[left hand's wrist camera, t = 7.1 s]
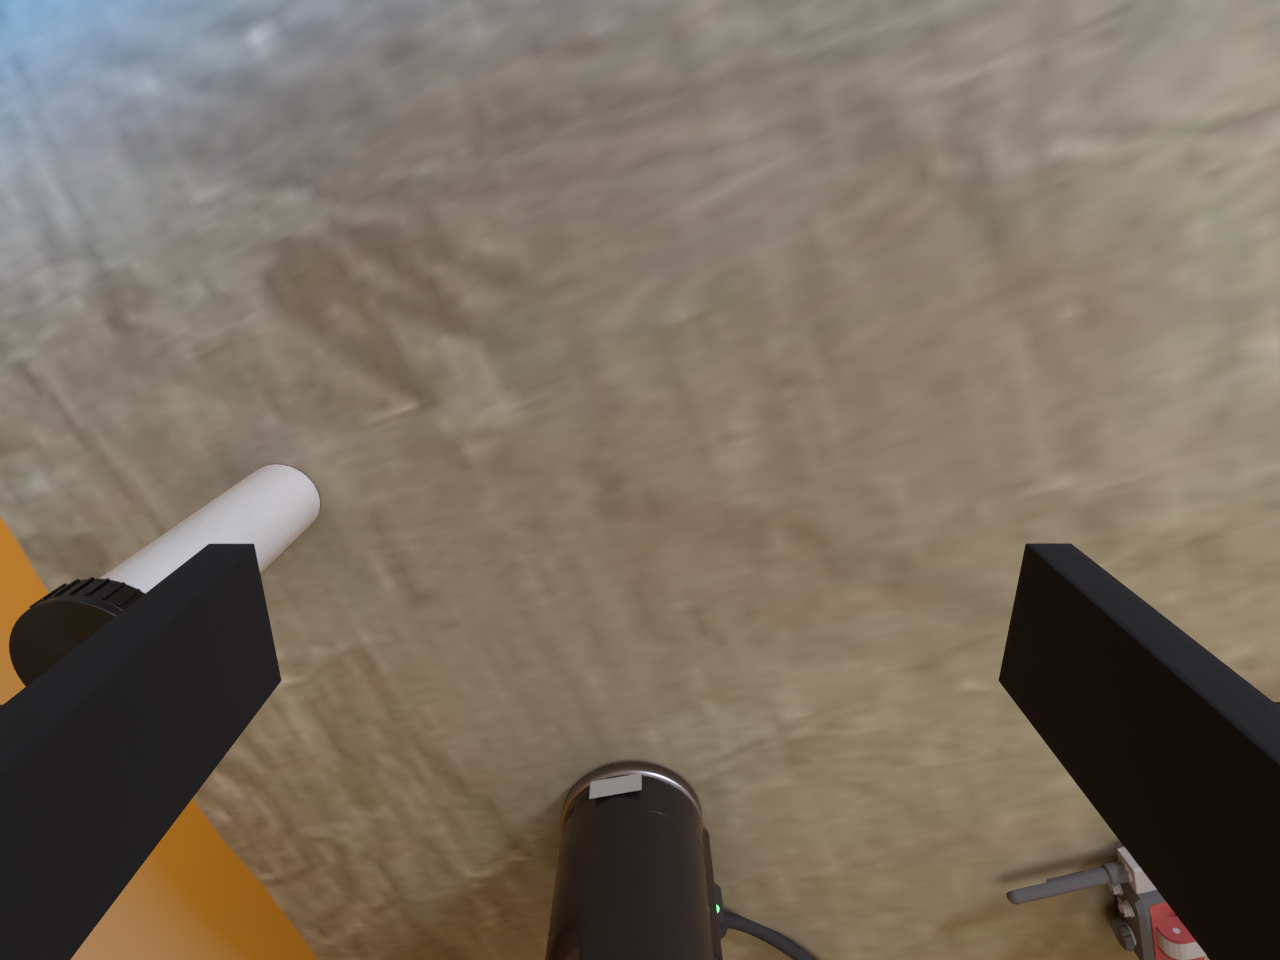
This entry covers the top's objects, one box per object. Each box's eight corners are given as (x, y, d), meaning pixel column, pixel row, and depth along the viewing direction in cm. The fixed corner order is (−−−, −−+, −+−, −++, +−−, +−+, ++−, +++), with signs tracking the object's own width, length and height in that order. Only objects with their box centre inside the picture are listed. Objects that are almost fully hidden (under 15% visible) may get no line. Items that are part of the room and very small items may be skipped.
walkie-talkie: (1296, 799, 50) (996, 869, 52) (1356, 854, 45) (1027, 927, 48) (1298, 893, 52) (1014, 955, 55) (1355, 952, 48) (1044, 1017, 50)
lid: (11, 610, 28) (-26, 634, 27) (122, 553, 27) (90, 575, 26) (105, 714, 30) (75, 743, 28) (212, 664, 29) (187, 690, 27)
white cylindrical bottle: (230, 483, 42) (7, 633, 27) (291, 451, 41) (97, 588, 26) (274, 543, 43) (85, 719, 28) (335, 514, 43) (173, 677, 28)
